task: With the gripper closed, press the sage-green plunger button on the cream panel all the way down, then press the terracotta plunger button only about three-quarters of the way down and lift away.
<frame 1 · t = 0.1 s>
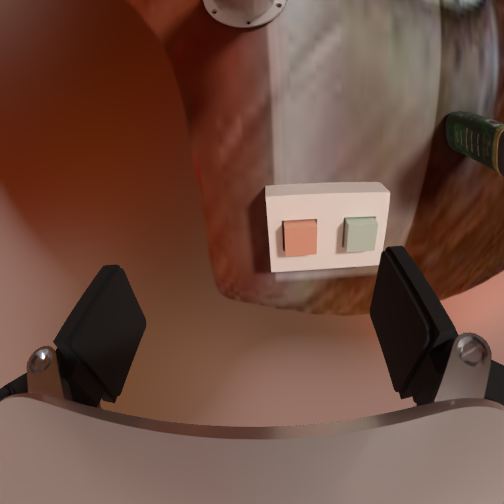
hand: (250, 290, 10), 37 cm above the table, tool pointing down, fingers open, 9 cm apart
sage button: (359, 233, 43), point 5 cm above the table, slide at 0.0 cm
button panel: (324, 220, 48), on the table
coffee jar: (460, 130, 36), on the table
terracotta button: (299, 236, 44), point 5 cm above the table, slide at 0.0 cm
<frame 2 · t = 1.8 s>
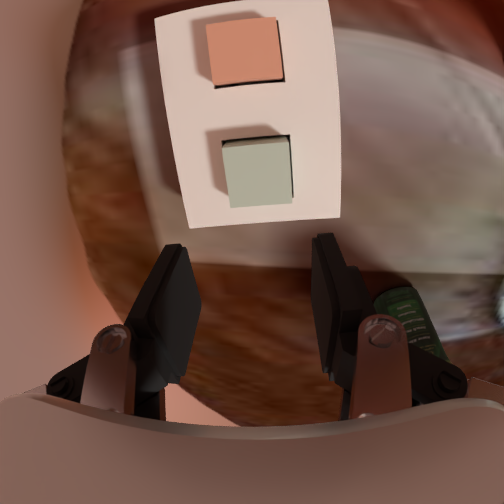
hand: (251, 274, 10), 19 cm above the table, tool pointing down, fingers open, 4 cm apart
sage button: (258, 170, 22), point 5 cm above the table, slide at 0.0 cm
button panel: (254, 107, 24), on the table
coffee jar: (391, 308, 37), on the table
terracotta button: (245, 52, 17), point 5 cm above the table, slide at 0.0 cm
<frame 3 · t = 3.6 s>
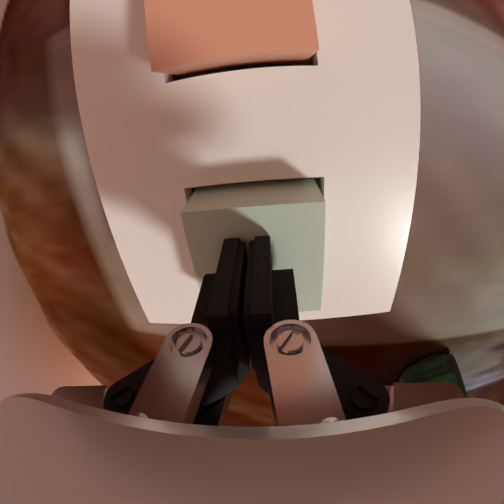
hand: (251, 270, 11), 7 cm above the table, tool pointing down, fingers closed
sage button: (259, 244, 12), point 5 cm above the table, slide at 0.2 cm, touching gripper
button panel: (252, 115, 14), on the table
coffee jar: (420, 373, 27), on the table
terracotta button: (230, 2, 6), point 5 cm above the table, slide at 0.0 cm
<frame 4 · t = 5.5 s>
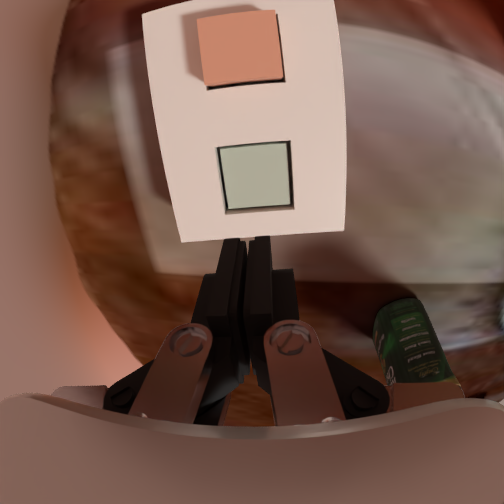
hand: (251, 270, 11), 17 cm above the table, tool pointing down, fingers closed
sage button: (256, 171, 22), point 3 cm above the table, slide at 2.5 cm
button panel: (251, 110, 22), on the table
coffee jar: (394, 319, 36), on the table
terracotta button: (241, 49, 15), point 5 cm above the table, slide at 0.0 cm
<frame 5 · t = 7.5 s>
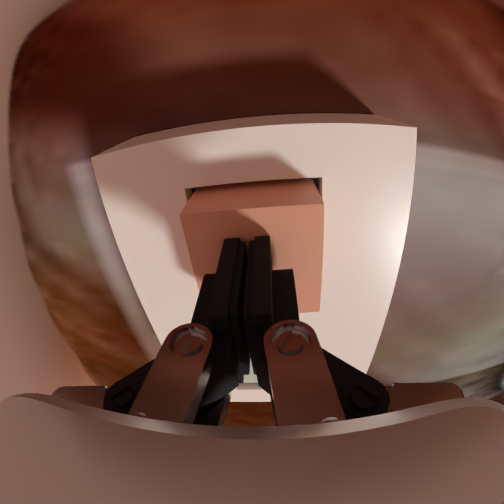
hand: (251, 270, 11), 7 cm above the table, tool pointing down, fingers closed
sage button: (271, 345, 19), point 3 cm above the table, slide at 2.5 cm
button panel: (267, 267, 19), on the table
terracotta button: (258, 245, 12), point 5 cm above the table, slide at 0.0 cm, touching gripper
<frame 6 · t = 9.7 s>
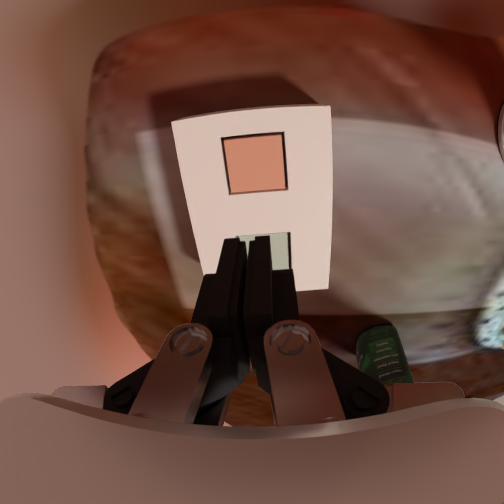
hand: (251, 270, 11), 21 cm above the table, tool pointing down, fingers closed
sage button: (264, 246, 31), point 3 cm above the table, slide at 2.5 cm
button panel: (260, 195, 31), on the table
coffee jar: (374, 340, 44), on the table
terracotta button: (255, 160, 25), point 4 cm above the table, slide at 1.8 cm
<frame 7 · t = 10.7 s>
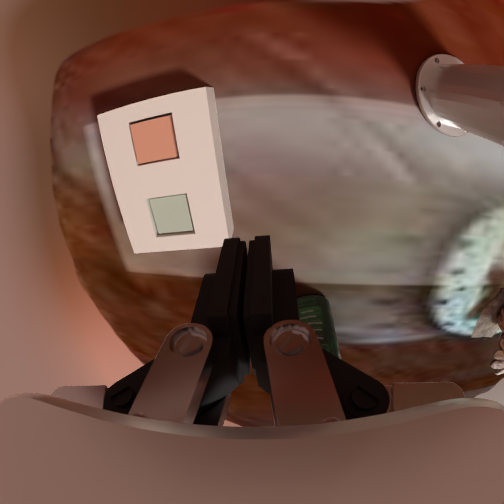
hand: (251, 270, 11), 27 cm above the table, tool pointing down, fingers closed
sage button: (175, 209, 36), point 3 cm above the table, slide at 2.5 cm
cherub figurine: (496, 313, 50), on the table
button panel: (173, 168, 36), on the table
coffee jar: (308, 311, 49), on the table
terracotta button: (157, 137, 30), point 4 cm above the table, slide at 1.8 cm
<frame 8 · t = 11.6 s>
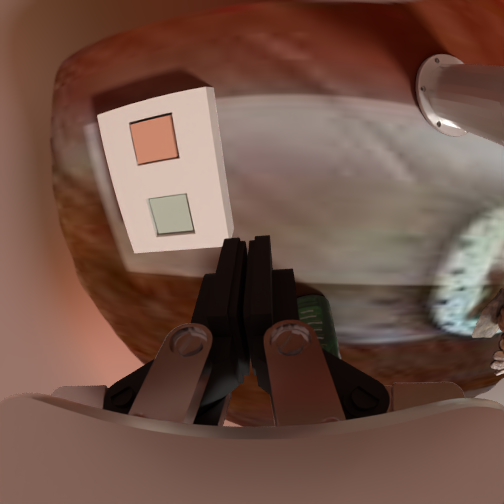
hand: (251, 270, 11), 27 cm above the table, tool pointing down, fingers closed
sage button: (175, 209, 36), point 3 cm above the table, slide at 2.5 cm
cherub figurine: (496, 313, 50), on the table
button panel: (173, 168, 36), on the table
coffee jar: (308, 311, 49), on the table
terracotta button: (157, 137, 30), point 4 cm above the table, slide at 1.8 cm
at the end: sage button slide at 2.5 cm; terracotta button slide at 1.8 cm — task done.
